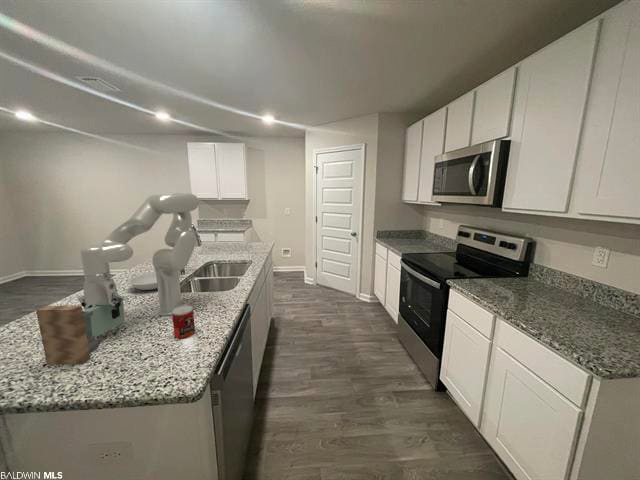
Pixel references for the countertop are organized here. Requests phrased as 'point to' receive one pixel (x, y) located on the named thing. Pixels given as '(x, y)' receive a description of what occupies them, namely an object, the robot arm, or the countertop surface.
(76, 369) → the countertop surface
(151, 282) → the soup bowl
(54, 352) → the cabinet side
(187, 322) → the canned food
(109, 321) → the door
